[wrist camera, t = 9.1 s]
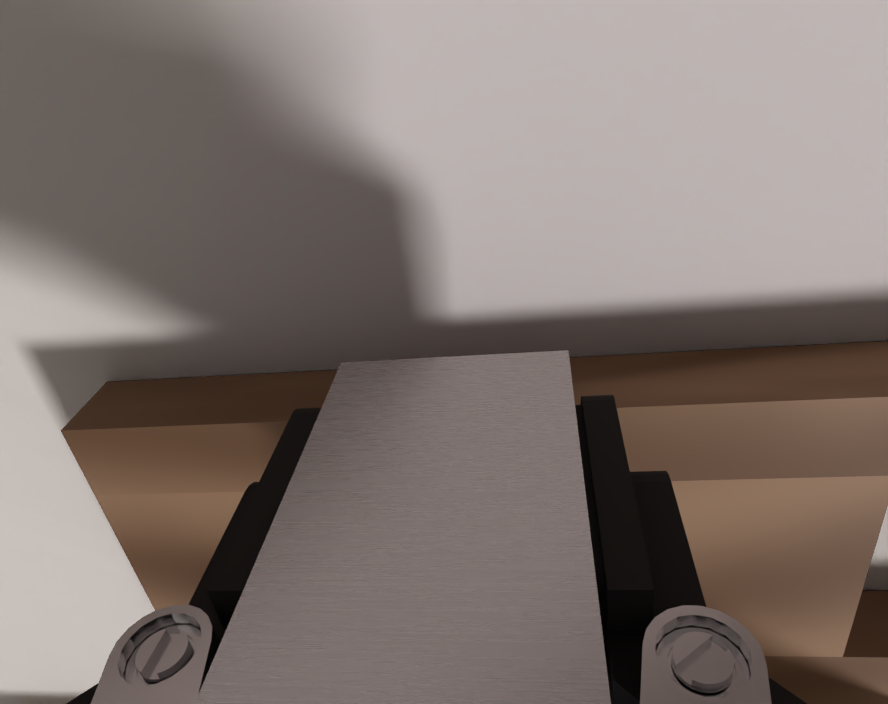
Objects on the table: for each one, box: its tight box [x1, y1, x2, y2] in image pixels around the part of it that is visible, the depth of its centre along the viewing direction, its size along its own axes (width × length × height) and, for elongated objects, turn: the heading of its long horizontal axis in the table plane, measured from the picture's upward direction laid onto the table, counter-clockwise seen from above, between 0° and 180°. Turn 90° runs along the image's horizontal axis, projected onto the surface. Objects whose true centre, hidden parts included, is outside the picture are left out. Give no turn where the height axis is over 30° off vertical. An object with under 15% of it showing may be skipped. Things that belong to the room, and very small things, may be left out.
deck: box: [61, 341, 888, 704], centre depth 20 cm, size 21×24×2 cm
